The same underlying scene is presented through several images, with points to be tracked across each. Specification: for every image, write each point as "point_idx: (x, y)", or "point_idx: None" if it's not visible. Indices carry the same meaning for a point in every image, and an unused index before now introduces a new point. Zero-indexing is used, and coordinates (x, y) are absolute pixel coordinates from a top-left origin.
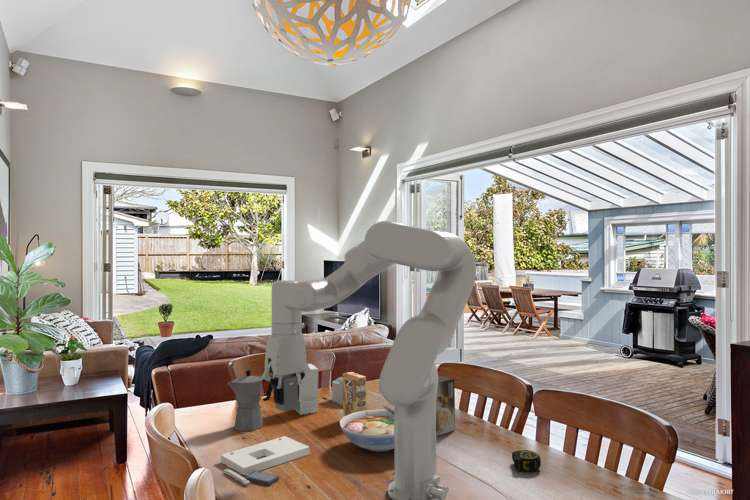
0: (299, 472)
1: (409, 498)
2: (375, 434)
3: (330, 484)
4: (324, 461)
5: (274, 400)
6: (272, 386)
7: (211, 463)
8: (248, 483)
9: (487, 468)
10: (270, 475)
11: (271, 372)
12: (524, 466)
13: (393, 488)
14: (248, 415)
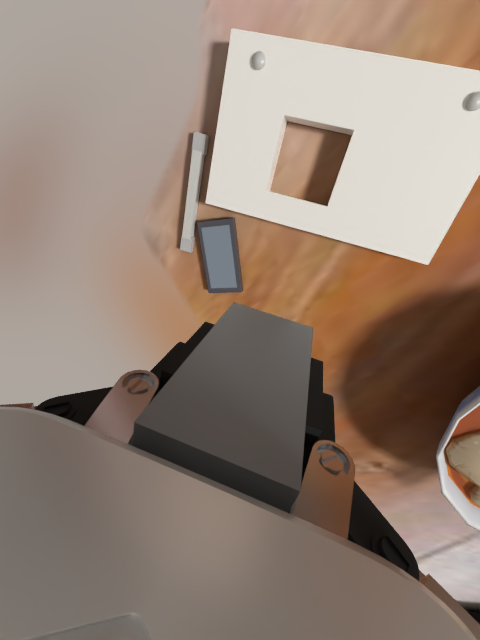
0: (295, 305)
1: None
2: (477, 472)
3: None
4: (383, 323)
5: (202, 325)
6: (131, 377)
7: (218, 16)
8: (186, 251)
9: (464, 578)
10: (232, 273)
11: (60, 429)
12: None
13: None
14: None
